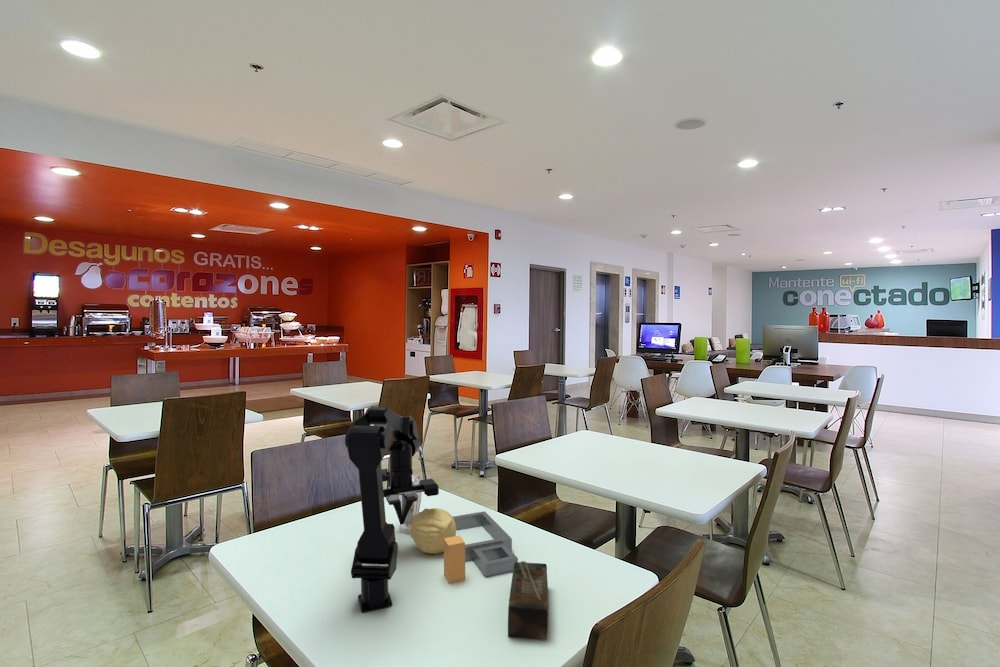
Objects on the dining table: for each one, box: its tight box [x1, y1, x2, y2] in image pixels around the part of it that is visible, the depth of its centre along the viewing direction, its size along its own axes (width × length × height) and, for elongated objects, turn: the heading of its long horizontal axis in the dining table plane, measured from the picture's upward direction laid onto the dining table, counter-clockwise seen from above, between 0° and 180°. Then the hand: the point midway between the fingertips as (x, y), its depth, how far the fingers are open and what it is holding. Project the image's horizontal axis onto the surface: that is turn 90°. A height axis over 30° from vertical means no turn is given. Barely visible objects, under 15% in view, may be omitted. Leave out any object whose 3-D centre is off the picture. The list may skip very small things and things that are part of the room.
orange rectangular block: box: [443, 535, 466, 584], centre depth 119 cm, size 4×4×9 cm
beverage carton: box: [507, 560, 549, 641], centre depth 106 cm, size 8×19×7 cm, turn 175°
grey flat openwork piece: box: [452, 511, 519, 578], centre depth 134 cm, size 29×14×4 cm, turn 22°
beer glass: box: [398, 474, 422, 534], centre depth 146 cm, size 7×7×15 cm
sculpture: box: [410, 507, 457, 555], centre depth 134 cm, size 11×12×11 cm
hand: (401, 523), depth 131 cm, fingers closed
